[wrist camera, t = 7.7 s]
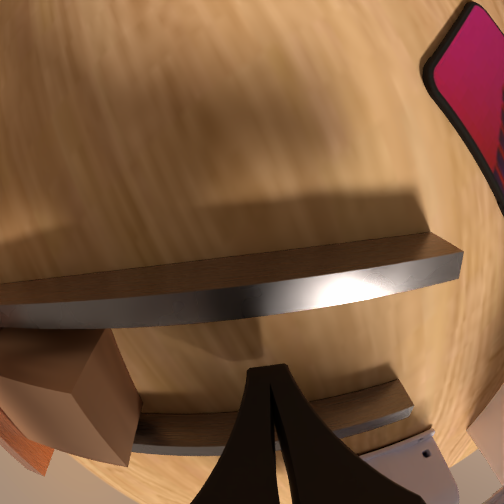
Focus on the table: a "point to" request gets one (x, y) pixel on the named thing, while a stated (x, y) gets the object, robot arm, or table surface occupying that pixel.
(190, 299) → the guide lane
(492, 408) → the milk
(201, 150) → the table surface
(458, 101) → the smartphone
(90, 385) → the block
